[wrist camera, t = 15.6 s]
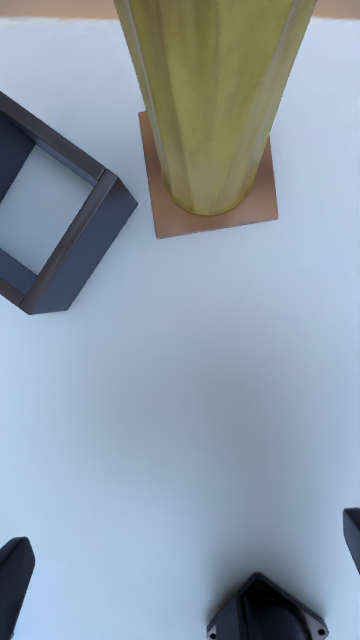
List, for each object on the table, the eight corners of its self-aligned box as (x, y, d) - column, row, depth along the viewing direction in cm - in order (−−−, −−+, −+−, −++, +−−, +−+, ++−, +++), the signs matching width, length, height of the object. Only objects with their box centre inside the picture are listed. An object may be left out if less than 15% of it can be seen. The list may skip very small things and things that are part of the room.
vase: (238, 228, 18) (352, 8, 4) (149, 200, 19) (-23, -90, 5) (270, 132, 18) (538, -516, 4) (178, 105, 18) (79, -590, 4)
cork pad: (277, 219, 19) (278, 217, 18) (157, 238, 19) (156, 237, 19) (262, 90, 18) (264, 86, 17) (139, 116, 19) (138, 112, 18)
